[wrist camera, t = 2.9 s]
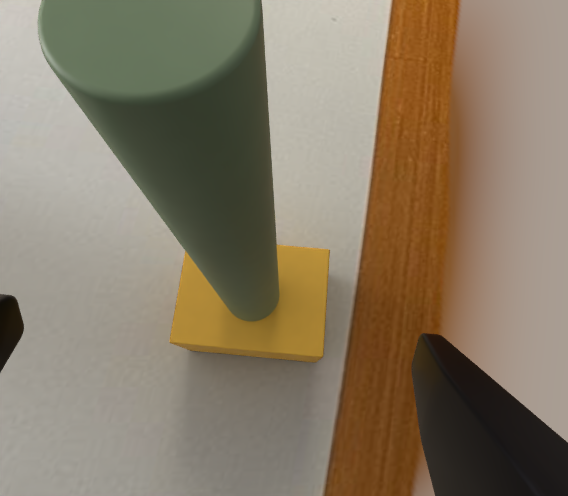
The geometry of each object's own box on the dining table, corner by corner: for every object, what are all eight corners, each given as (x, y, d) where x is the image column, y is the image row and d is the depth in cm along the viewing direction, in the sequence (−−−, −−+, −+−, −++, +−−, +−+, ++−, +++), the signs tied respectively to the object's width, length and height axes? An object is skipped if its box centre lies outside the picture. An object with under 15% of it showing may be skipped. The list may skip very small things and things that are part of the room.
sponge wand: (316, 362, 19) (472, 246, 3) (189, 350, 20) (-262, 183, 3) (322, 271, 21) (453, -128, 5) (203, 260, 21) (-71, -158, 5)
